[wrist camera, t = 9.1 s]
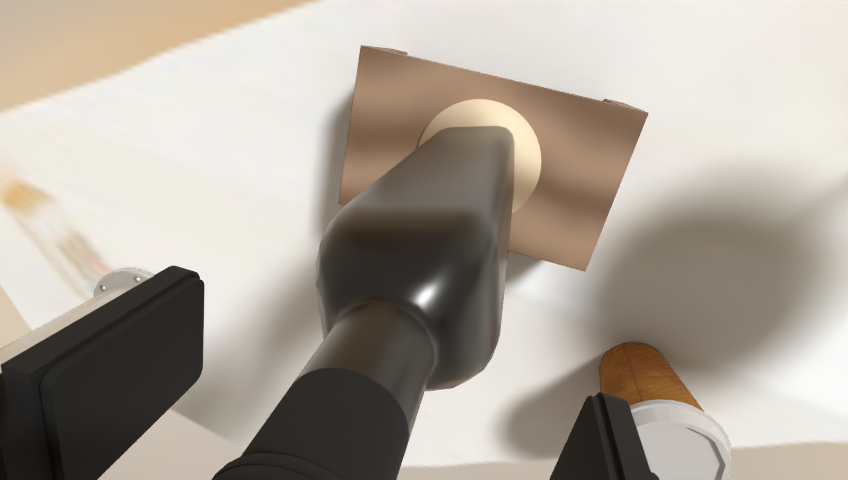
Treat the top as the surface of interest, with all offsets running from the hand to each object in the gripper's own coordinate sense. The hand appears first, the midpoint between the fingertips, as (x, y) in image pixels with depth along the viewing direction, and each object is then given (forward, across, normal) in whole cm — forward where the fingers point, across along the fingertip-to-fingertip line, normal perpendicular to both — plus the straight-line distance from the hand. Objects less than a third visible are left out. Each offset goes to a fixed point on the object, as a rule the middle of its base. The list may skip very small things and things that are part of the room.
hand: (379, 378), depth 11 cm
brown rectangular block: (+33, 0, 0) cm, 33 cm away
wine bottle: (+24, 0, 0) cm, 24 cm away
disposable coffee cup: (+33, -20, +18) cm, 42 cm away
